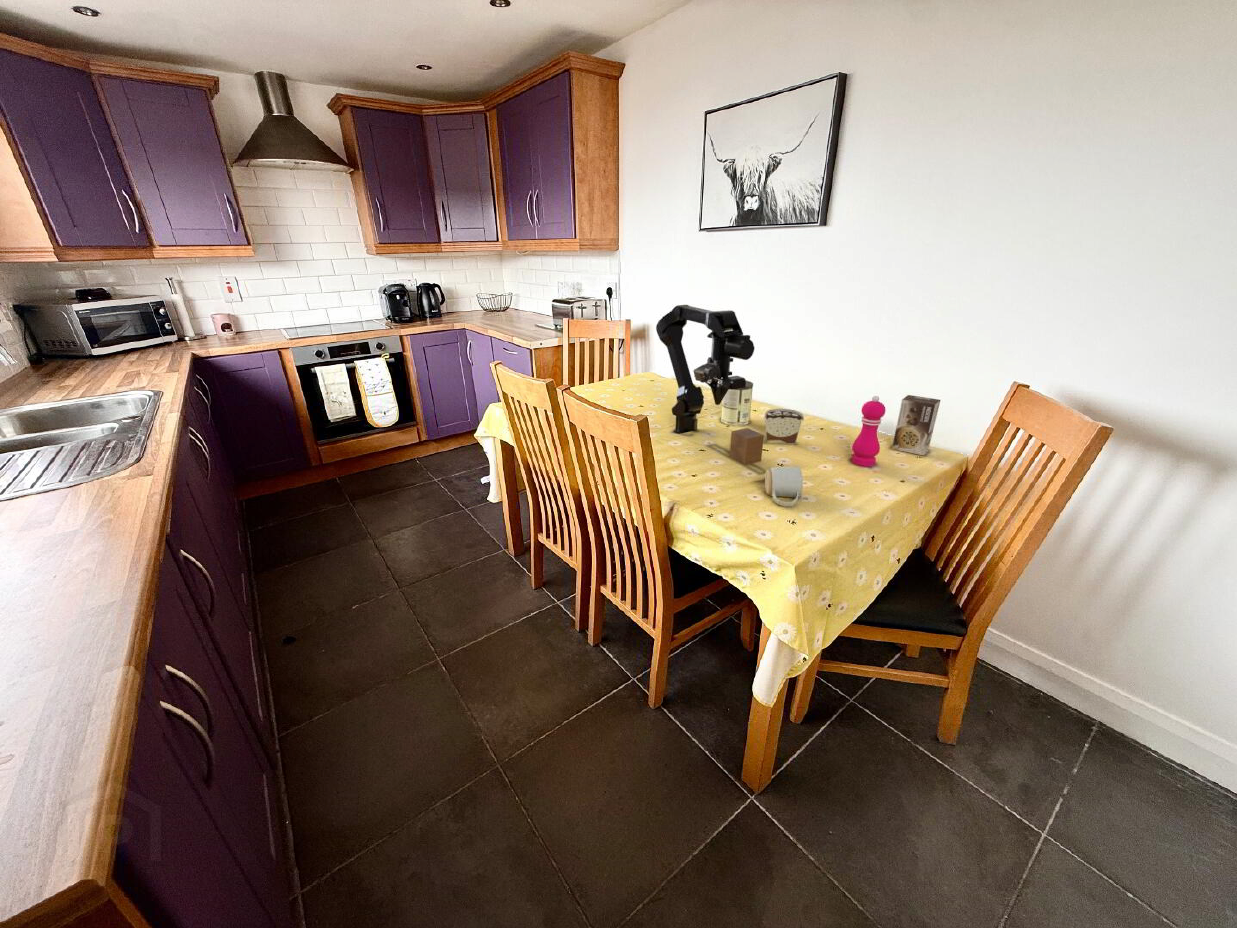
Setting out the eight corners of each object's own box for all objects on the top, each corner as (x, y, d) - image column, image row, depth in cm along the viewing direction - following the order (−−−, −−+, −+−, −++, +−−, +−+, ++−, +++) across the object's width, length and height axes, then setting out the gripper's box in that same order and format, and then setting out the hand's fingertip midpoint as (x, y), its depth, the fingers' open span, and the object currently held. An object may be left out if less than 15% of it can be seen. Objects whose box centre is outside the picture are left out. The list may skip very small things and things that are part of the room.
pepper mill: (875, 459, 148) (888, 393, 140) (878, 468, 141) (892, 400, 133) (848, 456, 150) (860, 391, 142) (850, 465, 144) (863, 398, 136)
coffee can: (726, 415, 188) (729, 378, 182) (753, 419, 183) (757, 381, 177) (716, 422, 180) (718, 384, 174) (743, 427, 175) (747, 388, 169)
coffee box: (929, 450, 154) (942, 399, 147) (923, 456, 149) (936, 404, 143) (896, 443, 159) (908, 394, 153) (890, 448, 155) (901, 398, 149)
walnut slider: (729, 456, 147) (731, 431, 144) (745, 453, 150) (747, 427, 147) (744, 464, 142) (747, 438, 138) (761, 461, 144) (764, 435, 141)
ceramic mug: (762, 487, 131) (765, 461, 128) (794, 488, 130) (798, 461, 127) (769, 507, 121) (773, 479, 118) (804, 508, 121) (809, 480, 117)
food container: (796, 437, 165) (800, 408, 161) (800, 444, 159) (804, 414, 155) (758, 436, 166) (761, 407, 162) (761, 443, 161) (764, 413, 157)
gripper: (681, 352, 154) (679, 400, 160) (718, 363, 139) (714, 416, 145) (710, 348, 158) (707, 396, 165) (749, 359, 143) (744, 411, 149)
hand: (717, 404), depth 156 cm, fingers closed
